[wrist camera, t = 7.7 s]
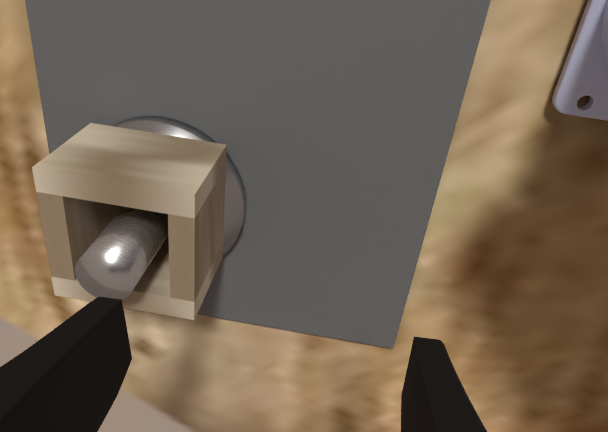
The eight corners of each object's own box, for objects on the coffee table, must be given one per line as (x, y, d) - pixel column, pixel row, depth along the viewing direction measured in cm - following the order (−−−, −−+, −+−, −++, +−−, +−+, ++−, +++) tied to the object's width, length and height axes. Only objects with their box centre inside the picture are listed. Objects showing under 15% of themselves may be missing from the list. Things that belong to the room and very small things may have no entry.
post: (251, 130, 20) (208, 204, 15) (242, 272, 24) (205, 369, 19) (77, 103, 21) (-19, 167, 16) (94, 247, 24) (21, 335, 20)
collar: (226, 144, 20) (194, 194, 17) (222, 257, 23) (194, 320, 20) (90, 122, 20) (32, 167, 17) (103, 237, 23) (54, 295, 20)
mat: (622, -484, 12) (629, -495, 12) (392, 342, 26) (392, 348, 25) (-51, -544, 13) (-63, -556, 12) (75, 286, 26) (71, 291, 26)
